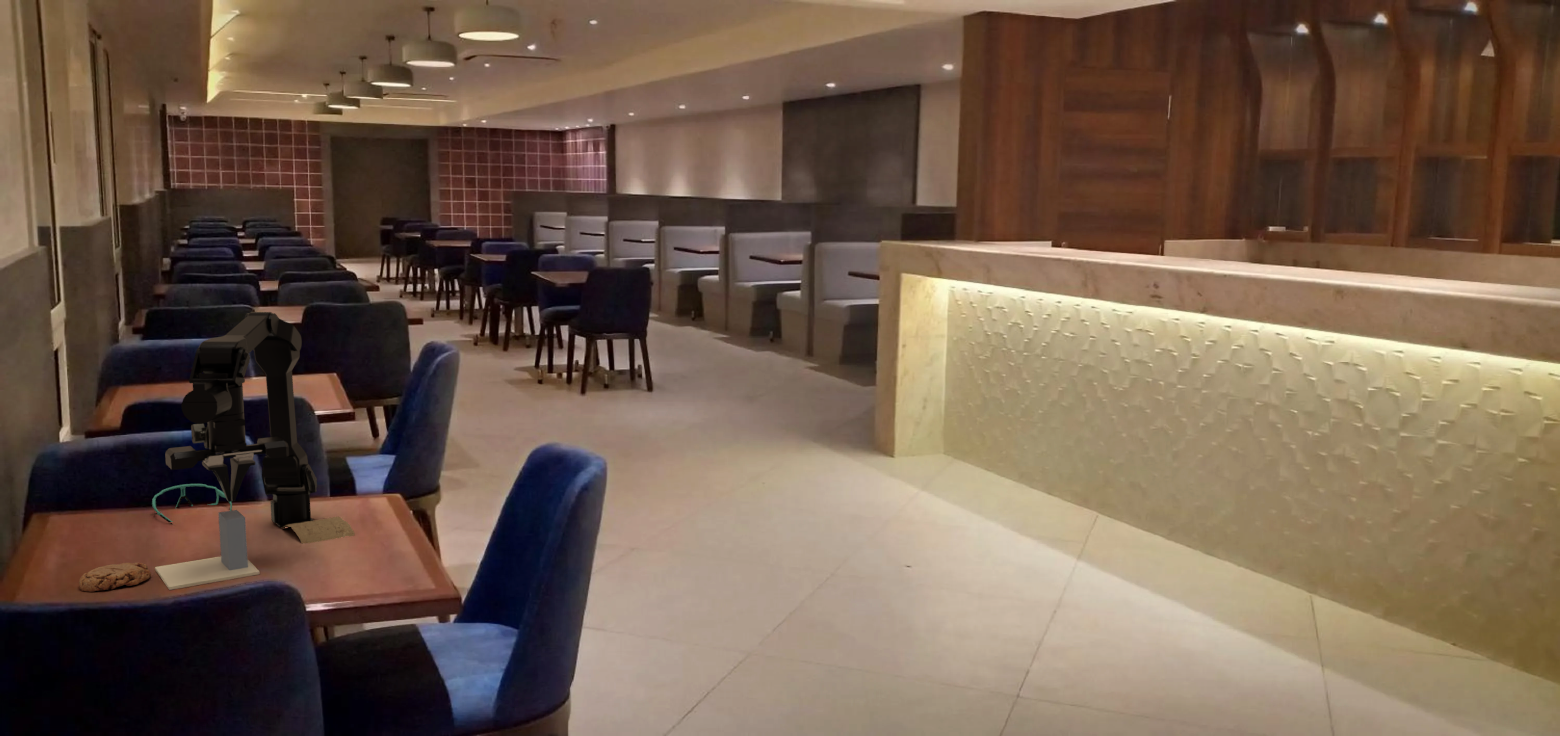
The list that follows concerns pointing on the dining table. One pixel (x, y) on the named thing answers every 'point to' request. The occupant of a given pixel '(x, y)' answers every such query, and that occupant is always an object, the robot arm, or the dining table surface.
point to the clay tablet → (321, 529)
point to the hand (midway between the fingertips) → (231, 500)
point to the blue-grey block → (233, 539)
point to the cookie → (114, 576)
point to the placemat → (201, 572)
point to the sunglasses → (186, 497)
